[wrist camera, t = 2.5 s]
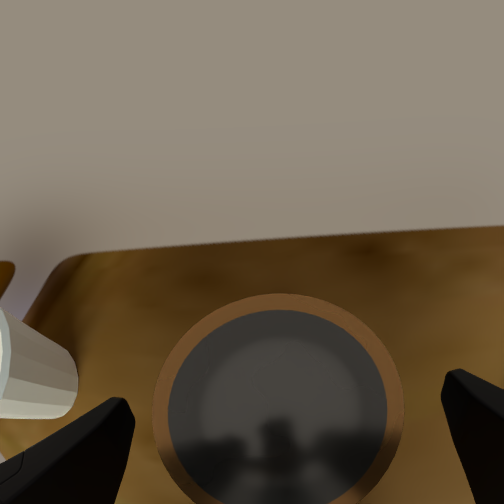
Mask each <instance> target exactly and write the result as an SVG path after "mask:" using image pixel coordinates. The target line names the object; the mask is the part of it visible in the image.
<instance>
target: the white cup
mask: <svg viewBox="0 0 504 504" xmlns="http://www.w3.org/2000/svg"><path fill="white" fill-rule="evenodd" d="M77 393H78V373H77V369H76V365H75V362H74V360H73V359H72V357H71V355H70V354H69V352H68V351H67V350H66V349H64V348H63V347H61V346H60V345H58V344H57V343H55V342H53V341H52V340H50V339H48V338H47V337H45V336H43V335H42V334H40V333H38V332H37V331H35V330H34V329H32V328H31V327H29V326H27V325H26V324H24V323H23V322H21V321H20V320H18V319H17V318H15V317H14V316H12V315H11V314H9V313H8V312H7V311H5V310H4V309H2V308H1V307H0V418H14V419H55V418H58V417H61V416H64V415H65V414H66V413H67V412H68V411H69V410H70V409H71V407H72V406H73V404H74V401H75V398H76V396H77Z"/></svg>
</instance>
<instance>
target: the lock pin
mask: <svg viewBox="0 0 504 504" xmlns="http://www.w3.org/2000/svg"><path fill="white" fill-rule="evenodd" d="M404 409H405V406H404V395H403V389H402V384H401V380H400V376H399V373H398V371H397V368H396V366H395V363H394V361H393V359H392V357H391V356H390V354H389V352H388V350H387V349H386V347H385V346H384V344H383V343H382V342H381V341H380V339H379V338H378V337H377V335H376V334H375V333H374V332H373V331H372V330H371V329H370V328H369V327H368V326H367V325H366V324H364V323H363V322H362V321H361V320H359V319H358V318H357V317H355V316H354V315H353V314H351V313H349V312H347V311H346V310H344V309H342V308H340V307H339V306H336V305H334V304H331V303H329V302H327V301H324V300H321V299H317V298H313V297H310V296H304V295H298V294H282V293H276V294H264V295H258V296H253V297H248V298H244V299H241V300H238V301H235V302H232V303H230V304H227V305H225V306H223V307H221V308H219V309H217V310H215V311H214V312H212V313H210V314H209V315H207V316H205V317H204V318H203V319H201V320H200V321H199V322H198V323H196V324H195V325H194V326H192V327H191V328H190V329H189V330H188V331H187V332H186V333H185V334H184V335H183V336H182V337H181V339H180V340H179V341H178V343H177V344H176V345H175V346H174V348H173V349H172V351H171V352H170V354H169V356H168V357H167V359H166V361H165V362H164V365H163V367H162V369H161V372H160V374H159V376H158V380H157V383H156V387H155V390H154V397H153V404H152V424H153V432H154V438H155V442H156V445H157V449H158V452H159V454H160V457H161V459H162V461H163V464H164V466H165V467H166V469H167V471H168V472H169V474H170V476H171V477H172V479H173V480H174V481H175V483H176V484H177V485H178V486H179V488H180V489H181V490H182V491H183V492H184V493H185V494H186V495H187V496H188V497H189V498H190V499H191V500H192V501H194V502H195V503H196V504H356V503H357V502H359V501H360V500H361V499H362V498H364V497H365V496H366V495H367V494H368V493H369V492H370V491H371V490H372V489H373V488H374V487H375V485H376V484H377V483H378V482H379V481H380V479H381V478H382V476H383V475H384V474H385V472H386V471H387V469H388V467H389V465H390V464H391V462H392V460H393V458H394V456H395V453H396V451H397V448H398V445H399V442H400V439H401V435H402V430H403V424H404Z"/></svg>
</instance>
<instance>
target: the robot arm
mask: <svg viewBox="0 0 504 504" xmlns="http://www.w3.org/2000/svg"><path fill="white" fill-rule="evenodd" d="M441 402H442V405H443V408H444V412H445V415H446V418H447V422H448V425H449V429H450V432H451V436H452V439H453V443H454V445H455V448H456V451H457V453H458V456H459V458H460V461H461V463H462V466H463V469H464V471H465V474H466V477H467V480H468V482H469V485H470V488H471V491H472V494H473V497H474V500H475V503H476V504H504V390H503V389H501V388H499V387H497V386H495V385H493V384H491V383H489V382H487V381H485V380H483V379H481V378H479V377H477V376H475V375H473V374H471V373H469V372H467V371H465V370H463V369H455V370H452V371H449V372H447V374H446V376H445V380H444V384H443V388H442V391H441ZM134 428H135V418H134V415H133V413H132V411H131V409H130V407H129V405H128V402H127V401H126V400H125V399H124V398H119V397H111V398H110V399H108V400H106V401H105V402H103V403H102V404H100V405H99V406H97V407H95V408H94V409H92V410H91V411H89V412H87V413H86V414H84V415H83V416H81V417H79V418H78V419H76V420H75V421H73V422H71V423H70V424H68V425H66V426H65V427H63V428H62V429H60V430H58V431H57V432H55V433H53V434H52V435H50V436H48V437H47V438H45V439H43V440H42V441H40V442H38V443H36V444H35V445H33V446H31V447H30V448H28V449H26V450H25V451H23V452H21V453H19V454H18V455H16V456H14V457H12V458H10V459H8V460H7V461H5V462H3V463H1V464H0V504H114V503H115V500H116V496H117V493H118V490H119V487H120V484H121V481H122V478H123V475H124V472H125V469H126V465H127V461H128V456H129V452H130V447H131V442H132V437H133V433H134Z"/></svg>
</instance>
